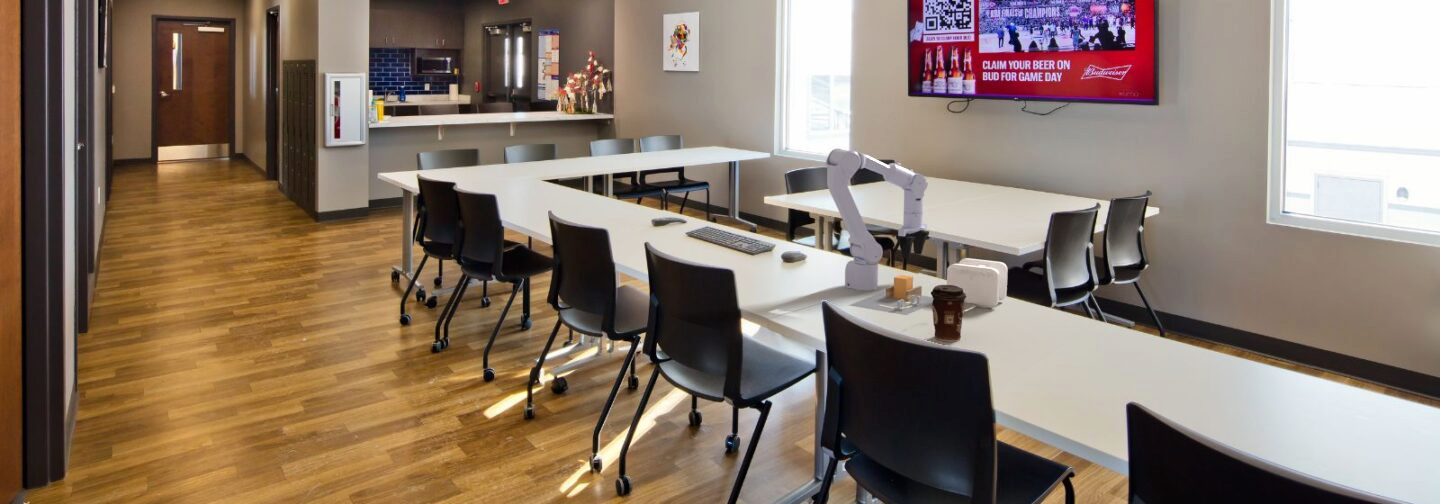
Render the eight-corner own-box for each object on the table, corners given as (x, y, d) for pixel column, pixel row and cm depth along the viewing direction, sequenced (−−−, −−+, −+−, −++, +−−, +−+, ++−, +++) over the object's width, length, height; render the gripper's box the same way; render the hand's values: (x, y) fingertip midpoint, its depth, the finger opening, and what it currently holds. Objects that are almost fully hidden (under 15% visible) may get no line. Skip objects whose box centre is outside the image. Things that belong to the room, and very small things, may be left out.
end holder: (885, 298, 268) (885, 288, 267) (899, 292, 274) (899, 283, 273) (908, 301, 263) (908, 291, 263) (921, 296, 269) (921, 286, 269)
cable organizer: (1009, 302, 265) (1011, 262, 263) (995, 310, 257) (997, 269, 254) (959, 295, 274) (960, 257, 272) (944, 303, 266) (945, 263, 263)
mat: (848, 308, 261) (849, 296, 260) (887, 293, 278) (887, 281, 277) (906, 318, 250) (906, 305, 249) (943, 302, 266) (943, 289, 266)
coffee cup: (924, 340, 229) (926, 289, 227) (933, 332, 236) (935, 282, 234) (960, 344, 225) (962, 292, 223) (968, 336, 232) (970, 285, 230)
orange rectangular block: (893, 297, 268) (893, 277, 267) (900, 294, 271) (900, 274, 270) (906, 299, 266) (906, 279, 265) (912, 296, 269) (913, 276, 268)
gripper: (913, 216, 274) (912, 261, 277) (936, 210, 285) (934, 253, 288) (892, 214, 279) (891, 258, 281) (915, 208, 290) (914, 251, 292)
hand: (912, 256), depth 285 cm, fingers open, 7 cm apart
